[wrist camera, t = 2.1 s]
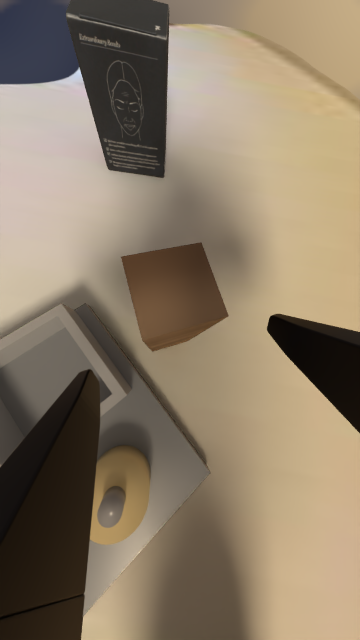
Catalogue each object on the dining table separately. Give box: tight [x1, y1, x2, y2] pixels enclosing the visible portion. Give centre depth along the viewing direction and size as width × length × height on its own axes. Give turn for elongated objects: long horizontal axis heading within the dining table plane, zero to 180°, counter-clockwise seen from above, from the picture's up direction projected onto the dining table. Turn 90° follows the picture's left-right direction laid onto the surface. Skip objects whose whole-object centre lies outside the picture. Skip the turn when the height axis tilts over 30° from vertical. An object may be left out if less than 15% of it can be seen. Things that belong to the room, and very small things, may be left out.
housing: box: [0, 303, 210, 616], centre depth 13 cm, size 20×14×4 cm
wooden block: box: [121, 243, 228, 351], centre depth 13 cm, size 4×4×11 cm
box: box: [66, 0, 169, 177], centre depth 18 cm, size 8×6×11 cm
